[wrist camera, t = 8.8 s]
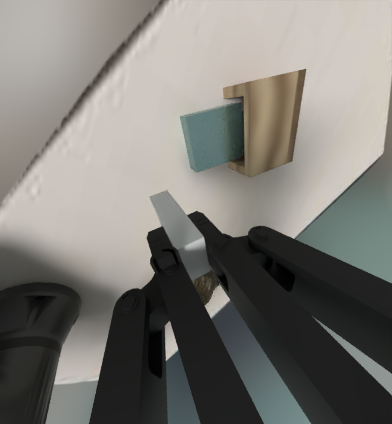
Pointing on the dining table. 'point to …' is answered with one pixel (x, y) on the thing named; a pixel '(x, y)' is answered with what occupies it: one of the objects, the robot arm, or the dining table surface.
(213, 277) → the turtle shell
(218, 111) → the teal tabbed plate
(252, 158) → the overhang
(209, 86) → the dining table surface
